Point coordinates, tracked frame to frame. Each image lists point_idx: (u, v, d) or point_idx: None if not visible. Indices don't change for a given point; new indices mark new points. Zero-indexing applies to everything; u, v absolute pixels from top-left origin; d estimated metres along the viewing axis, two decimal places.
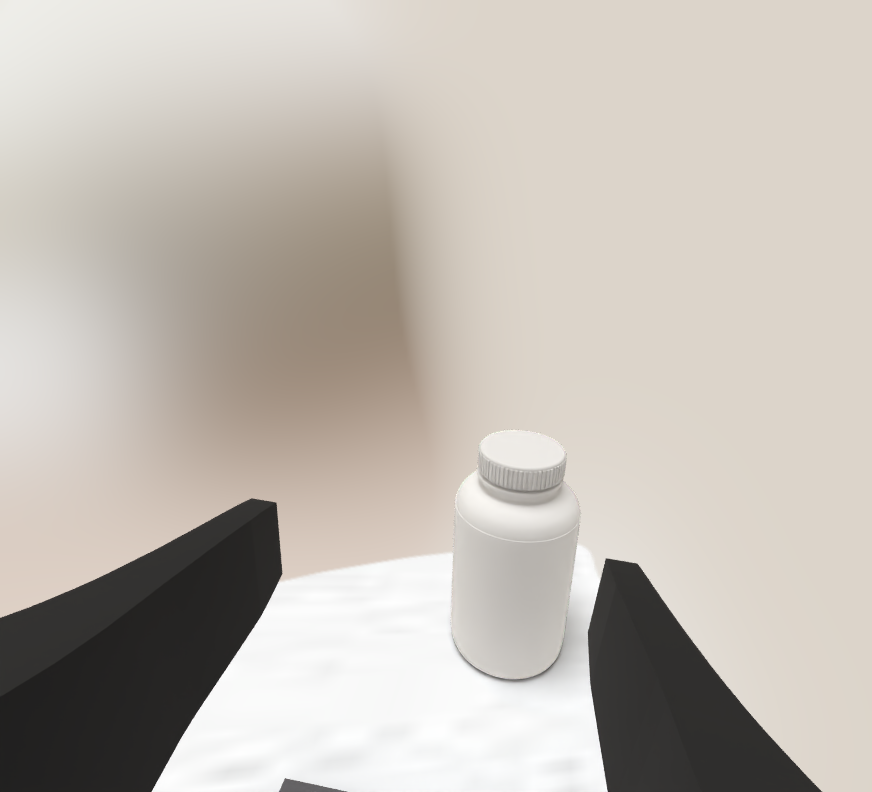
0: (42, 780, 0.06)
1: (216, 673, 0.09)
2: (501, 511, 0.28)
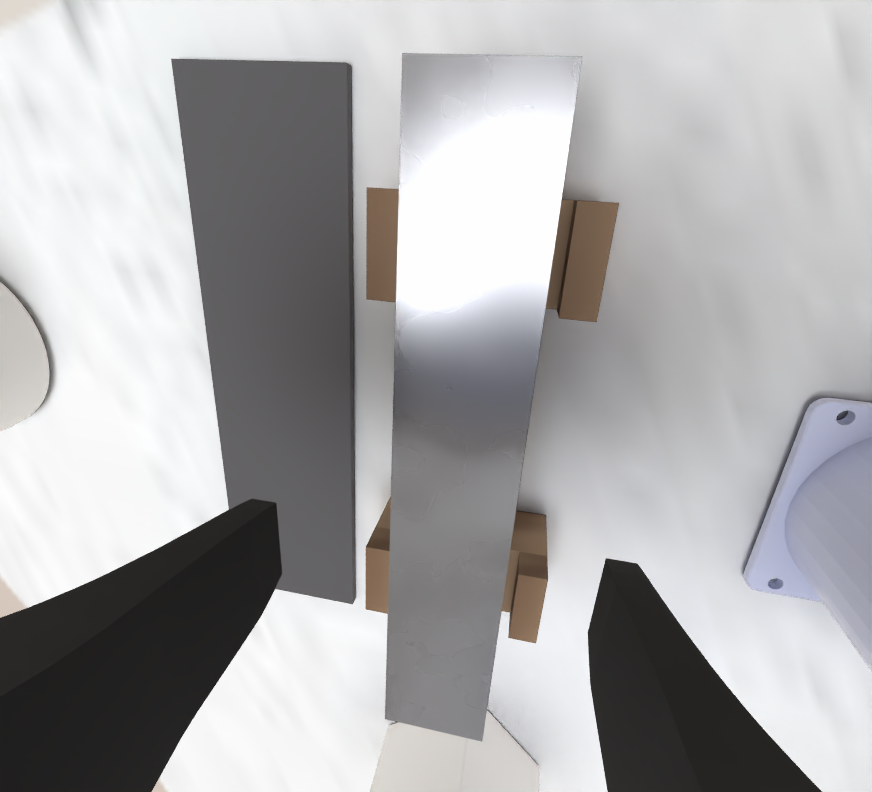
0: (42, 780, 0.06)
1: (216, 673, 0.09)
2: None
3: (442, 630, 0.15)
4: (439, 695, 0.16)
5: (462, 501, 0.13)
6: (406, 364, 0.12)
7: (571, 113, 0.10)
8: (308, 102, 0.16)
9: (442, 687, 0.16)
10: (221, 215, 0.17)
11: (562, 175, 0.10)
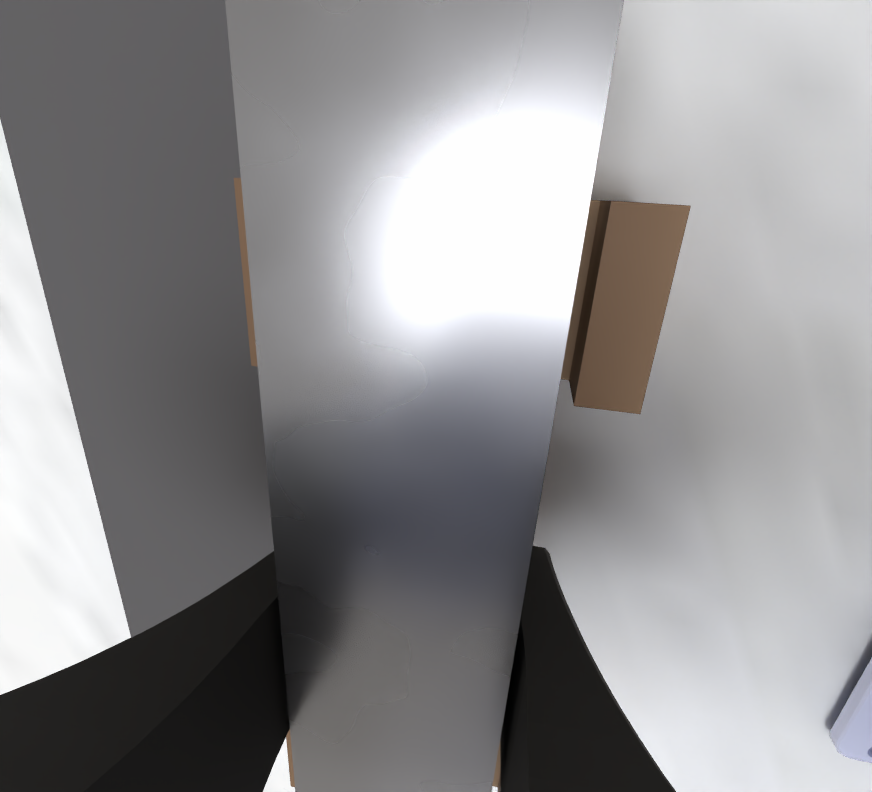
0: None
1: None
2: None
3: None
4: None
5: (407, 723, 0.08)
6: (291, 506, 0.06)
7: None
8: (174, 45, 0.10)
9: None
10: (68, 222, 0.12)
11: (593, 143, 0.04)
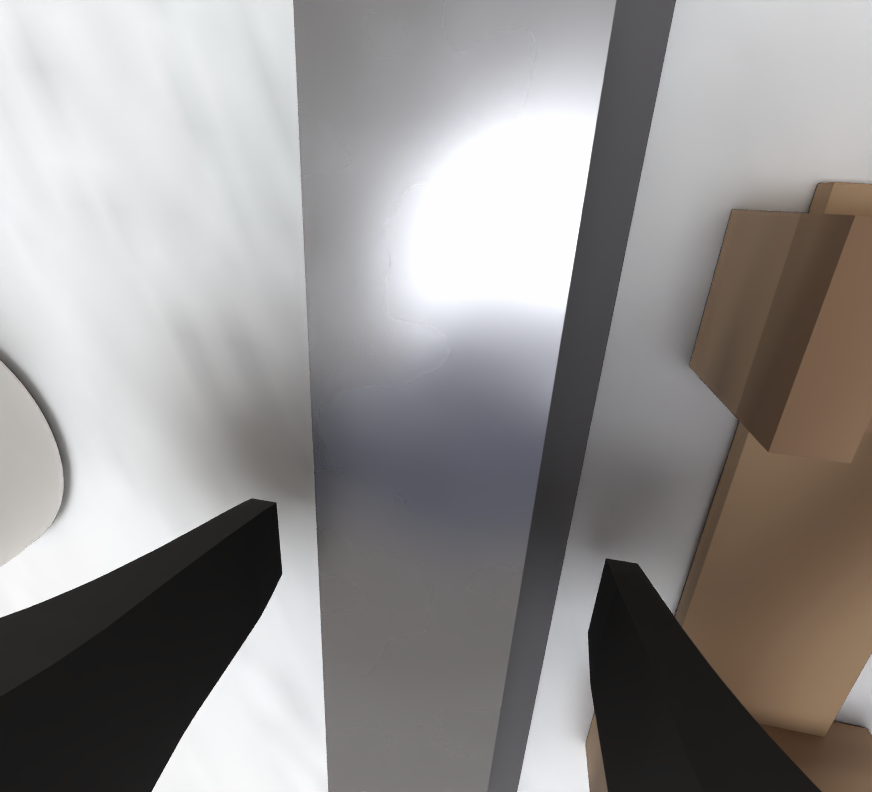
0: (42, 779, 0.06)
1: (216, 673, 0.09)
2: None
3: None
4: None
5: (426, 654, 0.09)
6: (332, 461, 0.08)
7: (605, 40, 0.05)
8: None
9: None
10: None
11: (585, 159, 0.06)
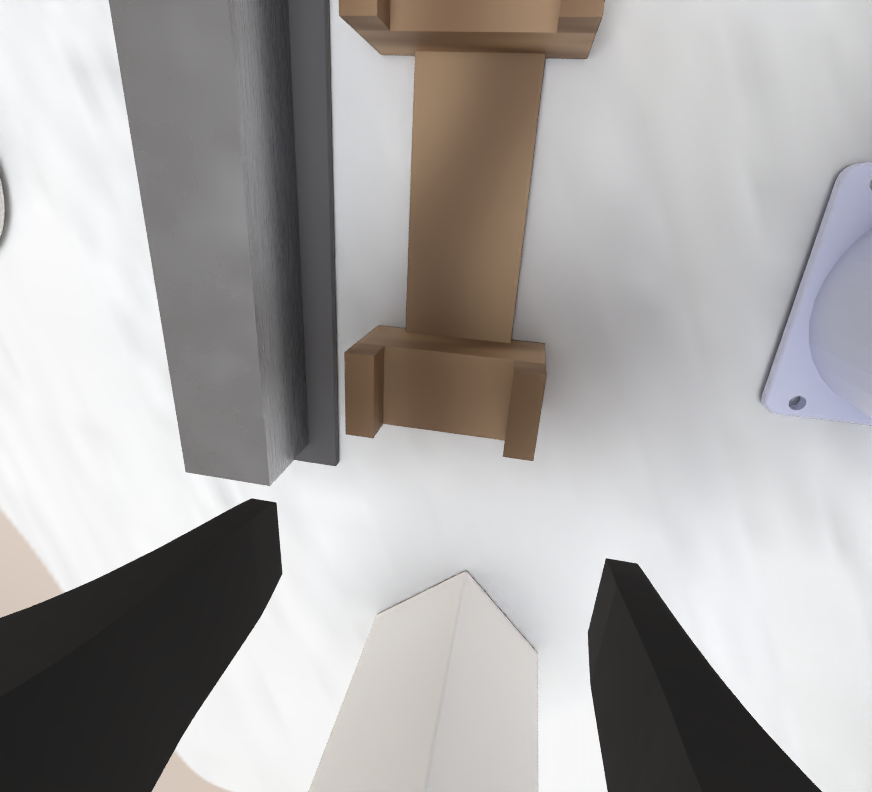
0: (42, 780, 0.06)
1: (216, 673, 0.09)
2: None
3: (213, 359, 0.17)
4: (224, 436, 0.18)
5: (201, 207, 0.15)
6: (127, 57, 0.14)
7: None
8: None
9: (225, 426, 0.18)
10: None
11: None
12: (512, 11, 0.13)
